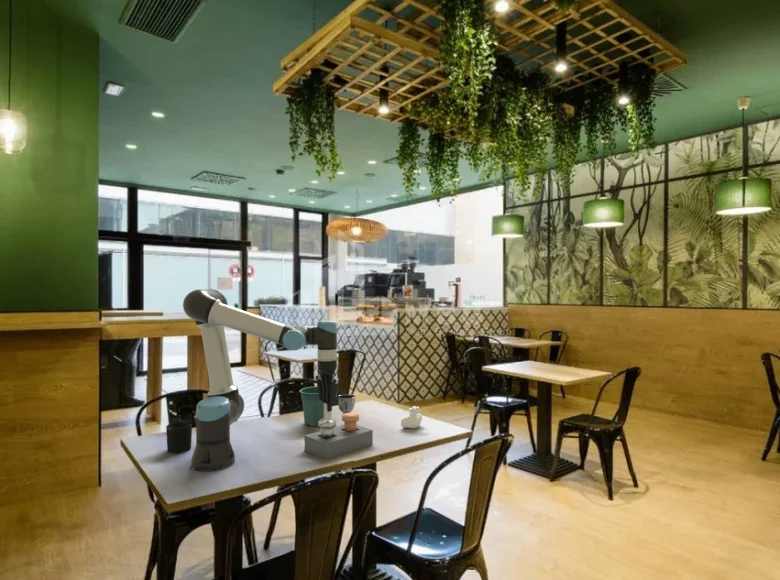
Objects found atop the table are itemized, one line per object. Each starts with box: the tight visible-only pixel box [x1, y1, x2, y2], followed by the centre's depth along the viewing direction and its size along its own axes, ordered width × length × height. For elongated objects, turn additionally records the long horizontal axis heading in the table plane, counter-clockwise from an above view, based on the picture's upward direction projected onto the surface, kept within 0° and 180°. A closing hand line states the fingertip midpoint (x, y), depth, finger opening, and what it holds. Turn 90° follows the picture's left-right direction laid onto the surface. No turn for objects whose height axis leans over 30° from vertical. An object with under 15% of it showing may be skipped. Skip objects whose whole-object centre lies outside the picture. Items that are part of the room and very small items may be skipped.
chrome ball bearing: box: [318, 418, 337, 439], centre depth 189 cm, size 7×7×7 cm
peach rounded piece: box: [341, 412, 360, 433], centre depth 198 cm, size 7×7×7 cm
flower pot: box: [299, 385, 324, 428], centre depth 227 cm, size 16×16×16 cm
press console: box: [304, 424, 374, 460], centre depth 193 cm, size 24×14×6 cm, turn 135°
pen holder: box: [165, 421, 193, 454], centre depth 190 cm, size 9×9×10 cm
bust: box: [400, 405, 423, 429], centre depth 220 cm, size 12×8×11 cm
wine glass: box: [337, 393, 356, 414], centre depth 218 cm, size 8×8×15 cm
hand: (327, 419), depth 189 cm, fingers closed
